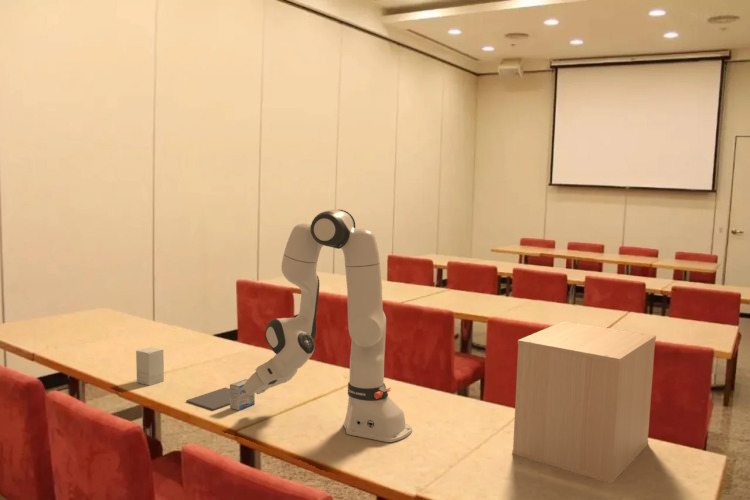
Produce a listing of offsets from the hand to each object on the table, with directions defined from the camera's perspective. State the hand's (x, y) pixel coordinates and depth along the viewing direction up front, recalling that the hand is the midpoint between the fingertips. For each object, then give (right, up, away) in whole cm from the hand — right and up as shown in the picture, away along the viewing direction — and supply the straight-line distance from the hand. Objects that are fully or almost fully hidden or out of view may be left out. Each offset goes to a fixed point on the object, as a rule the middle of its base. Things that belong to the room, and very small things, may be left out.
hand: (259, 391), depth 219 cm
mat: (-16, -5, +12) cm, 21 cm away
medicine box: (-7, -7, +5) cm, 11 cm away
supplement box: (-47, -3, +29) cm, 56 cm away
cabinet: (+102, -12, -23) cm, 105 cm away
